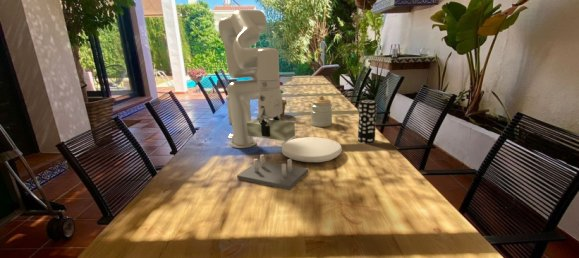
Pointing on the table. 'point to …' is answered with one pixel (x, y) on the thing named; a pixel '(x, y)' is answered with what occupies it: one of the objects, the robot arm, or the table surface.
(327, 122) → the jar
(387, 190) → the table surface
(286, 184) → the peg stand
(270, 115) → the robot arm
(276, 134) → the pale green rectangular block
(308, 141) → the plate
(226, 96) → the utensil holder
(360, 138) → the spotted tube
